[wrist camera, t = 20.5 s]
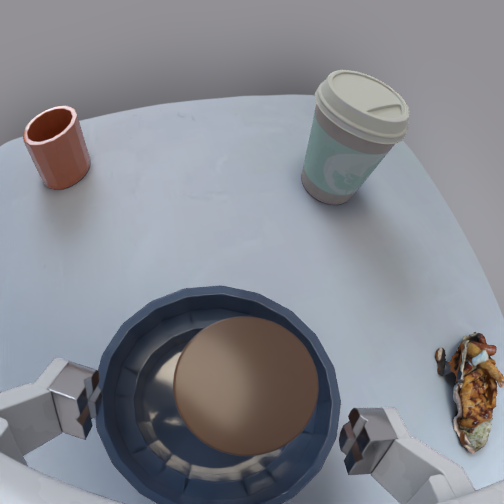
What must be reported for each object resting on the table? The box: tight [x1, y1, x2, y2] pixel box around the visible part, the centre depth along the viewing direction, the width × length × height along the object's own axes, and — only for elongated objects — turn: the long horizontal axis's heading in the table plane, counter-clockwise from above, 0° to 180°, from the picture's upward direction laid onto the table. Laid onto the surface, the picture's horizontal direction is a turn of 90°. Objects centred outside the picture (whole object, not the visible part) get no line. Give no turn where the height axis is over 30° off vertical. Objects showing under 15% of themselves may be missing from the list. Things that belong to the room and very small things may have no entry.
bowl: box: [95, 286, 341, 504], centre depth 19 cm, size 14×14×6 cm
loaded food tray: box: [435, 332, 504, 453], centre depth 22 cm, size 7×12×4 cm, turn 13°
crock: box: [23, 106, 90, 189], centre depth 27 cm, size 6×6×6 cm
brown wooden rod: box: [173, 316, 318, 456], centre depth 13 cm, size 3×3×18 cm
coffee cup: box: [302, 70, 409, 205], centre depth 28 cm, size 8×8×12 cm
